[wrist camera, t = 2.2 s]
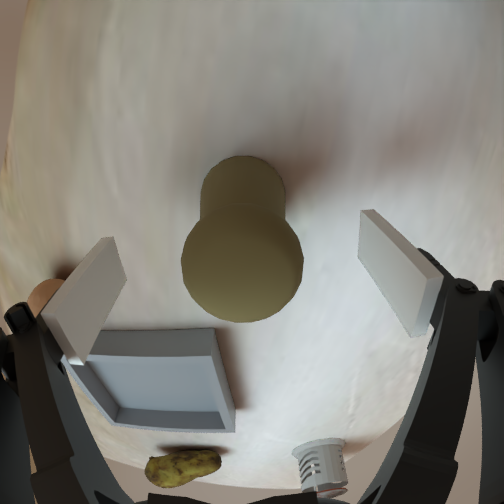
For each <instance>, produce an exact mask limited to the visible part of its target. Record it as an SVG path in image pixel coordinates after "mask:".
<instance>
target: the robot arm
mask: <svg viewBox="0 0 504 504" xmlns="http://www.w3.org/2000/svg"><path fill="white" fill-rule="evenodd" d="M358 258H359V260H360V261H361V263H362V264H363V265H364V267H365V268H366V270H367V271H368V273H369V274H370V276H371V277H372V279H373V280H374V282H375V283H376V285H377V286H378V288H379V289H380V291H381V292H382V294H383V295H384V297H385V298H386V300H387V301H388V303H389V305H390V306H391V308H392V309H393V311H394V312H395V314H396V316H397V317H398V319H399V320H400V322H401V324H402V325H403V327H404V329H405V330H406V332H407V334H408V335H409V337H410V338H413V337H417V336H421V335H425V334H426V332H427V329H428V327H429V324H430V323H431V325H432V326H433V328H434V332H433V334H432V337H431V339H430V342H429V345H428V347H427V349H428V352H427V355H426V358H425V361H424V365H423V368H422V371H421V374H420V377H419V380H418V383H417V385H416V388H415V391H414V394H413V396H412V399H411V402H410V404H409V407H408V409H407V412H406V414H405V416H404V419H403V421H402V424H401V426H400V428H399V430H398V433H397V435H396V437H395V439H394V441H393V443H392V445H391V448H390V450H389V452H388V453H387V455H386V458H385V459H384V462H383V463H382V465H381V467H380V469H379V471H378V473H377V474H376V476H375V478H374V479H373V481H372V483H371V484H370V485H369V487H368V488H367V490H366V491H365V493H364V494H363V496H362V497H361V499H360V500H359V502H358V503H357V504H445V503H446V500H447V498H448V496H449V493H450V491H451V488H452V485H453V482H454V480H455V477H456V474H457V470H458V462H456V461H455V460H454V456H455V452H456V449H457V445H458V441H459V438H460V434H461V431H462V427H463V423H464V419H465V415H466V410H467V406H468V401H469V395H470V390H471V384H472V378H473V371H474V364H475V357H476V363H477V370H478V378H479V387H480V398H481V413H482V467H481V481H480V491H479V504H504V281H503V280H496V281H494V282H493V284H492V287H491V290H490V291H479V290H478V288H477V286H476V285H475V284H474V283H472V282H471V281H468V280H466V279H461V278H457V279H455V278H454V277H453V276H452V275H451V274H450V273H449V272H448V271H447V270H446V269H445V268H444V267H443V266H442V265H440V263H439V262H438V261H437V260H435V258H434V257H433V256H432V255H431V254H430V253H428V252H426V251H424V250H423V249H421V248H417V249H416V248H415V247H414V246H413V245H412V244H411V243H410V242H409V241H408V240H407V239H406V238H405V237H404V236H403V235H402V234H401V233H400V232H398V231H397V230H396V229H395V228H394V227H393V226H392V225H391V224H390V223H389V222H387V221H386V220H385V219H384V218H383V217H382V216H381V215H380V214H378V213H377V212H376V211H375V210H374V209H372V210H361V214H360V232H359V246H358ZM126 281H127V278H126V275H125V272H124V269H123V266H122V263H121V260H120V257H119V253H118V250H117V247H116V244H115V240H114V237H106V238H101V239H100V241H99V242H98V243H97V244H96V245H95V246H94V247H93V248H92V250H91V251H90V252H89V253H88V254H87V255H86V257H85V258H84V259H83V260H82V261H81V262H80V264H79V265H78V266H77V267H76V268H75V270H74V271H73V272H72V273H71V274H70V276H69V277H68V278H67V279H66V281H65V282H64V283H63V284H62V286H61V287H60V288H58V289H57V290H56V291H55V292H54V294H53V295H52V296H51V298H50V299H49V300H48V301H47V304H45V305H44V307H43V308H42V310H41V311H40V312H39V314H38V315H37V316H36V318H35V317H34V315H33V313H32V311H31V309H30V307H29V305H28V303H26V302H20V303H17V304H15V305H13V306H12V307H11V308H10V309H8V310H7V312H6V313H5V315H4V319H5V321H6V322H7V324H8V326H9V328H10V329H11V331H12V333H13V334H11V335H7V336H6V335H5V333H4V332H3V330H2V328H1V327H0V504H35V499H34V495H35V498H36V500H37V503H38V504H210V503H206V502H202V501H198V500H195V499H191V498H188V497H180V496H169V495H161V494H153V493H149V494H148V500H146V501H141V502H136V503H134V502H133V500H132V499H131V498H130V497H129V496H128V495H127V494H126V493H125V492H124V491H123V490H122V489H121V487H120V486H119V484H118V482H117V481H116V479H115V477H114V476H113V474H112V472H111V470H110V469H109V467H108V465H107V463H106V461H105V460H104V458H103V456H102V454H101V452H100V450H99V448H98V446H97V444H96V442H95V440H94V438H93V436H92V434H91V432H90V430H89V427H88V425H87V423H86V421H85V418H84V416H83V414H82V412H81V409H80V407H79V404H78V402H77V399H76V397H75V394H74V392H73V389H72V386H71V383H70V381H69V378H68V375H67V372H66V369H65V366H64V365H63V363H62V362H61V359H62V357H63V355H65V357H66V358H67V360H68V361H69V363H70V364H75V365H84V364H85V361H86V359H87V357H88V355H89V353H90V351H91V349H92V346H93V344H94V342H95V340H96V338H97V336H98V334H99V332H100V330H101V328H102V326H103V324H104V322H105V320H106V318H107V316H108V314H109V312H110V310H111V309H112V307H113V305H114V303H115V301H116V299H117V297H118V295H119V294H120V292H121V290H122V288H123V286H124V284H125V283H126ZM2 373H3V374H4V375H5V377H6V380H4V378H3V375H2ZM29 445H30V448H31V452H32V456H33V459H34V462H35V465H36V469H37V472H36V473H33V474H31V466H30V453H29ZM33 492H34V493H33ZM249 504H349V503H347V502H344V501H339V500H335V499H330V498H318V497H317V492H316V491H312V492H306V493H299V494H291V495H283V496H273V497H270V498H267V499H263V500H260V501H256V502H253V503H249Z"/></svg>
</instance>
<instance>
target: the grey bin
mask: <svg viewBox="0 0 504 504" xmlns="http://www.w3.org/2000/svg"><path fill="white" fill-rule="evenodd" d="M61 361H62V363H63V364H64V366H65V367H66V369H67V370H68V371H69V373H70V374H71V376H72V377H73V378H74V380H75V381H76V382H77V384H78V385H79V386H80V388H81V389H82V390H83V392H84V393H85V394H86V395H87V397H88V398H89V399H90V400H91V402H92V403H93V404H94V405H95V407H96V408H97V409H98V410H99V411H100V413H101V414H102V415H103V416H104V417H105V418H106V419H107V421H108V422H109V423H110V424H111V425H113V426H120V427H128V428H136V429H145V430H156V431H170V432H193V433H231V432H235V406H234V403H233V399H232V395H231V392H230V388H229V384H228V381H227V377H226V373H225V370H224V366H223V362H222V358H221V354H220V350H219V346H218V342H217V338H216V334H215V330H214V328H203V329H182V330H148V331H100V332H99V334H98V336H97V338H96V340H95V342H94V344H93V346H92V349H91V351H90V353H89V355H88V357H87V359H86V361H85V364H84V365H75V364H70V363H69V361H68V360H67V358H66V357H65V355H63V357H62V359H61Z"/></svg>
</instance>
